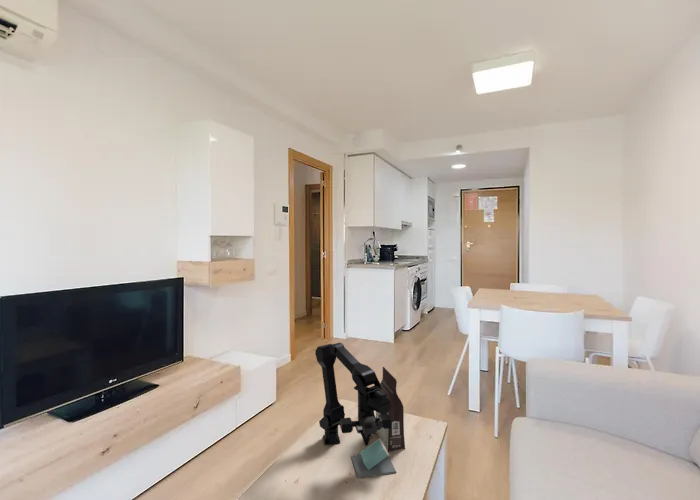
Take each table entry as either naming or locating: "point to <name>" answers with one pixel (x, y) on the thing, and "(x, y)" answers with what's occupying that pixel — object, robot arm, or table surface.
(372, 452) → the slab
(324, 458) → the table surface
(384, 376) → the protein powder
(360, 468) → the mat
